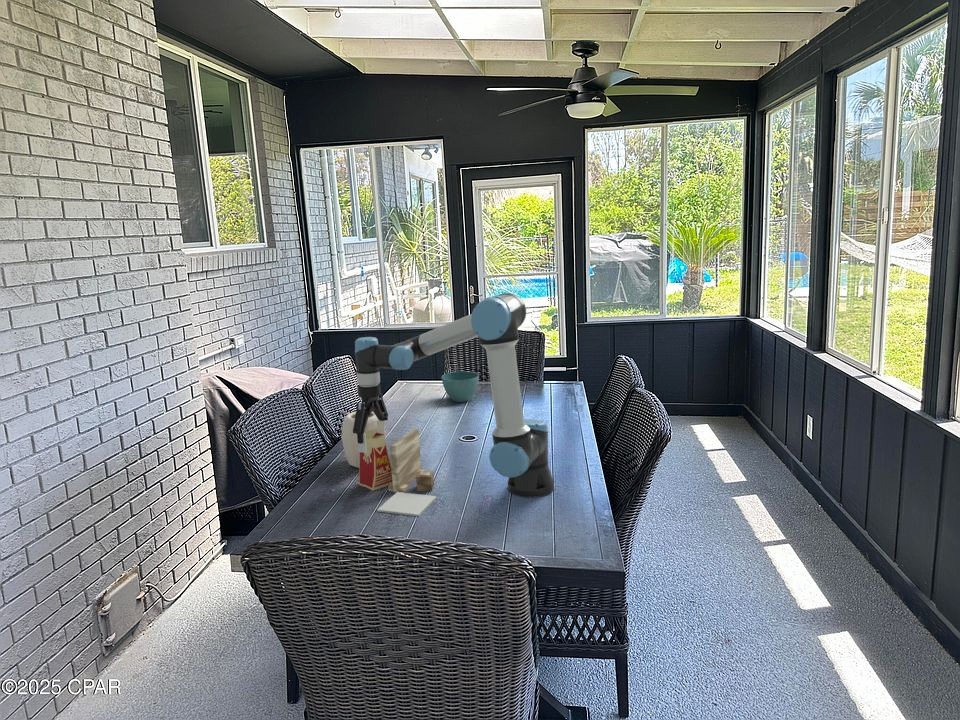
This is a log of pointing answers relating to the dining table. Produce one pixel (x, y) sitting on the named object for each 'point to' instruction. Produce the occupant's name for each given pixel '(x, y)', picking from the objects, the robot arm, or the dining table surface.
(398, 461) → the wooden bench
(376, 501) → the dining table surface
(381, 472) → the milk carton
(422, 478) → the walnut cube
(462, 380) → the teal bowl
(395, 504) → the mat
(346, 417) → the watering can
